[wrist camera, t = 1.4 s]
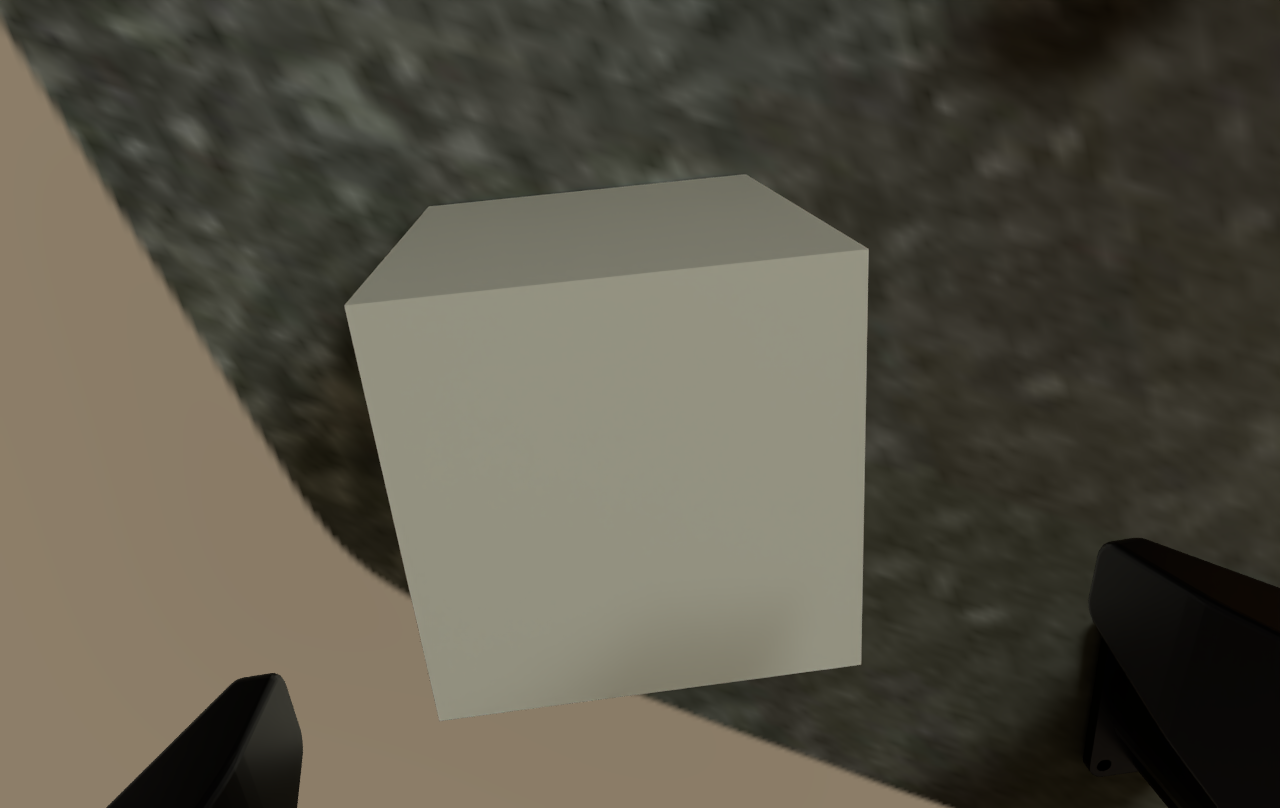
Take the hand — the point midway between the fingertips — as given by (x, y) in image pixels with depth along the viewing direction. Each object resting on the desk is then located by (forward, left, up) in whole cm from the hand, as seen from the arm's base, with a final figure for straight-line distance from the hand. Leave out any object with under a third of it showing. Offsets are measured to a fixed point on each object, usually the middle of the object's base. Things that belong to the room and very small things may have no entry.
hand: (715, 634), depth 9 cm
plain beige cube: (-1, +1, -14) cm, 14 cm away
